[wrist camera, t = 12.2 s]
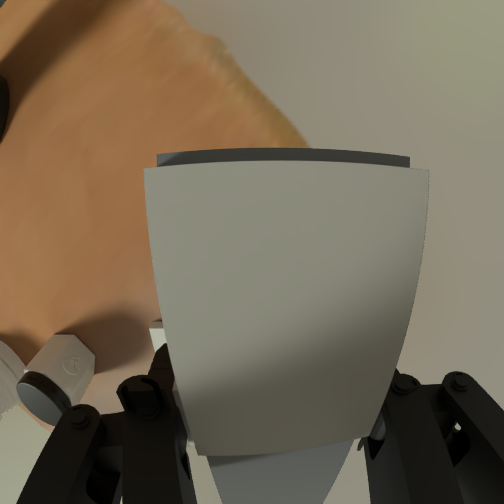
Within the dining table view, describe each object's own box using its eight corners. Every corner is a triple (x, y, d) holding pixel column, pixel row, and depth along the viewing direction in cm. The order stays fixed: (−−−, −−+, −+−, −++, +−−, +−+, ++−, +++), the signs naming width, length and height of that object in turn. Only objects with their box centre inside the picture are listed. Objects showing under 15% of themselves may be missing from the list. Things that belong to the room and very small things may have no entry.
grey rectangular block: (206, 163, 11) (143, 153, 3) (302, 160, 12) (429, 157, 3) (226, 407, 15) (228, 529, 7) (292, 402, 16) (320, 519, 8)
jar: (107, 365, 35) (78, 422, 24) (82, 382, 36) (55, 433, 25) (65, 321, 33) (22, 371, 21) (44, 344, 34) (7, 389, 22)
